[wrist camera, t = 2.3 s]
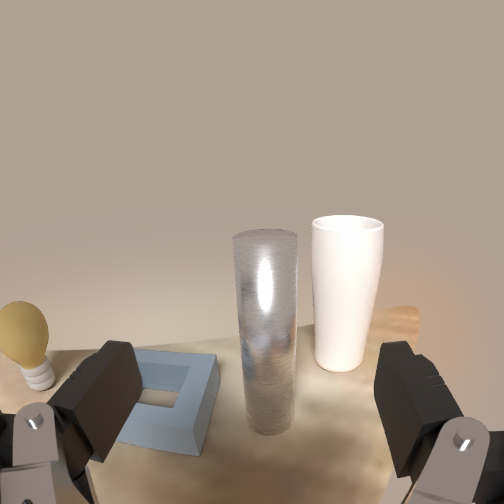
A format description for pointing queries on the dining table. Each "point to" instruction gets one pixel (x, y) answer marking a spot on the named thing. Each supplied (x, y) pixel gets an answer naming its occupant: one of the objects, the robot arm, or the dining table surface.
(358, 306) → the drinking glass
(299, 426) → the dining table surface
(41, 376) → the light bulb
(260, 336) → the steel pin
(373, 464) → the dining table surface
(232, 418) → the dining table surface
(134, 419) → the blue square frame
